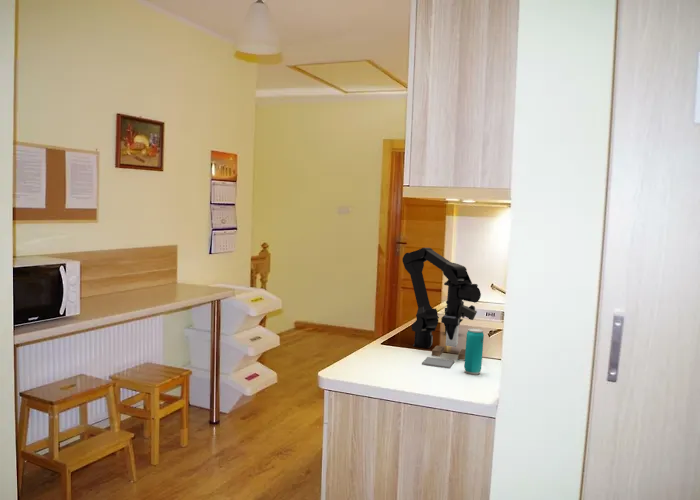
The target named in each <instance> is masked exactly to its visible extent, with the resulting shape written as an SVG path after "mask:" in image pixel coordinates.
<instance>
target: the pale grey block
mask: <svg viewBox="0 0 700 500" xmlns="http://www.w3.org/2000/svg"><path fill="white" fill-rule="evenodd" d="M459 330H460V325H457V326H456V328H455V332H454V336H453V339H452V340H450V339H449V336H448V333H447V331H446V335H445V346H447V347H451V348H452V347H453V348H454V347H455V348H456V347H457V346H458V342H459V332H460V331H459ZM445 346H444V347H445Z"/></svg>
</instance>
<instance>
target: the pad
mask: <svg viewBox="0 0 700 500" xmlns="http://www.w3.org/2000/svg"><path fill="white" fill-rule="evenodd" d="M454 363H455V360H454V359H453V360H452V359H446V358H445V359H444V358H437V357H431V356H427V357H426V358H425V359H424V360H423V361H422V362H421V365H422V366H430V367H434V368H435V367H437V368H443V369H451V367H452V366H453V365H454Z"/></svg>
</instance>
